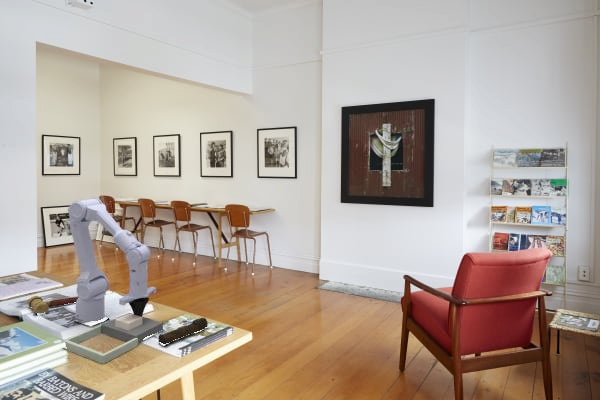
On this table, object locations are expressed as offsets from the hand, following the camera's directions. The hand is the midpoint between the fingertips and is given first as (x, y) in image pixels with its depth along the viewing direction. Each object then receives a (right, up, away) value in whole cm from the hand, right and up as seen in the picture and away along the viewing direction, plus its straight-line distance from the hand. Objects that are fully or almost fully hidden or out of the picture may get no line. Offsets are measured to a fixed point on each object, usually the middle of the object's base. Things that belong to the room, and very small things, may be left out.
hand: (138, 318), depth 142 cm
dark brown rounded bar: (+17, -6, -2) cm, 18 cm away
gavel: (-36, -1, +17) cm, 40 cm away
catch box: (-6, -5, -13) cm, 15 cm away
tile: (-2, -1, -4) cm, 4 cm away
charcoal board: (-1, -4, -2) cm, 5 cm away
